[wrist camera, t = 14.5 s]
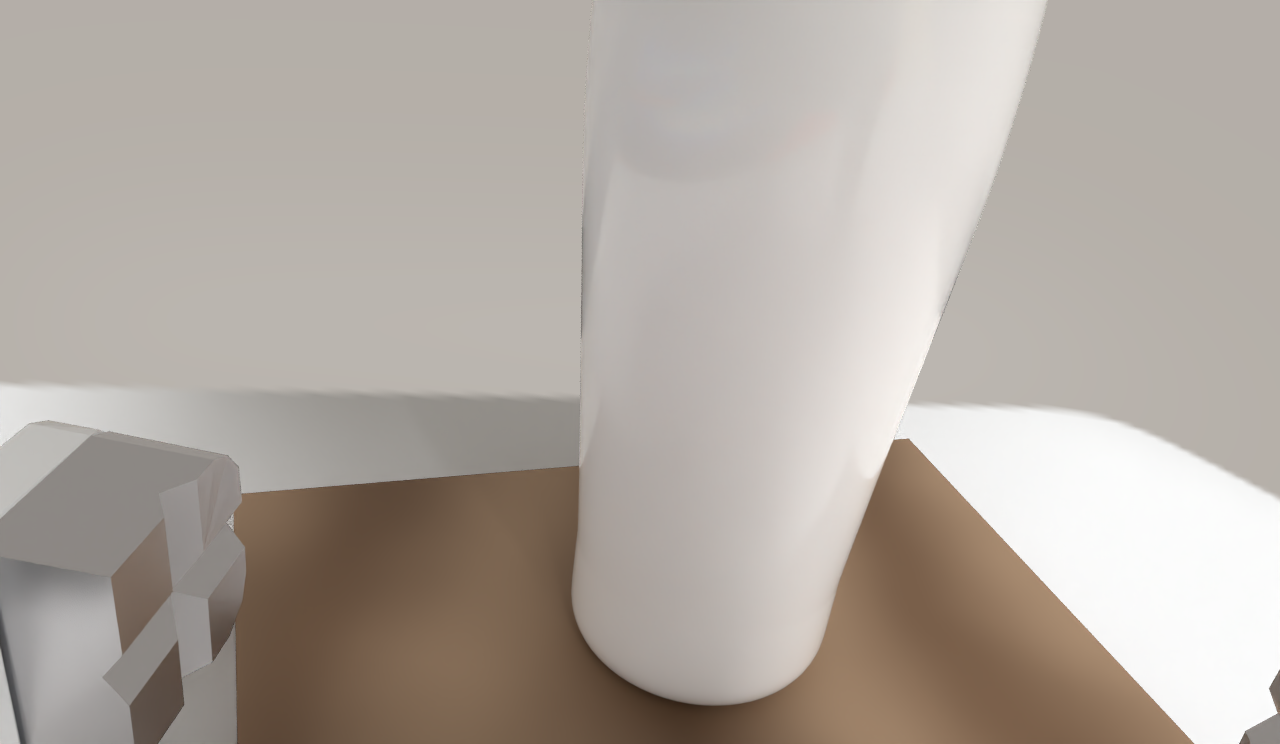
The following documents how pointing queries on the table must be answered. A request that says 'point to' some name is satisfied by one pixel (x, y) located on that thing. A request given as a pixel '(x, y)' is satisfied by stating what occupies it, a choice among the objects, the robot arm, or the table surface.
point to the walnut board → (592, 693)
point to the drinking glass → (763, 304)
